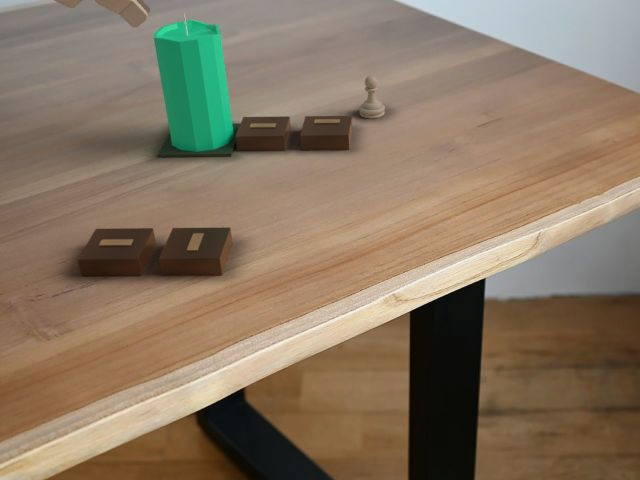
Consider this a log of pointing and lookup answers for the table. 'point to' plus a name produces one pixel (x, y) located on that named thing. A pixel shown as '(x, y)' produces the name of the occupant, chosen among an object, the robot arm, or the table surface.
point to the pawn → (371, 101)
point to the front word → (138, 244)
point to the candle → (194, 85)
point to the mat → (223, 151)
